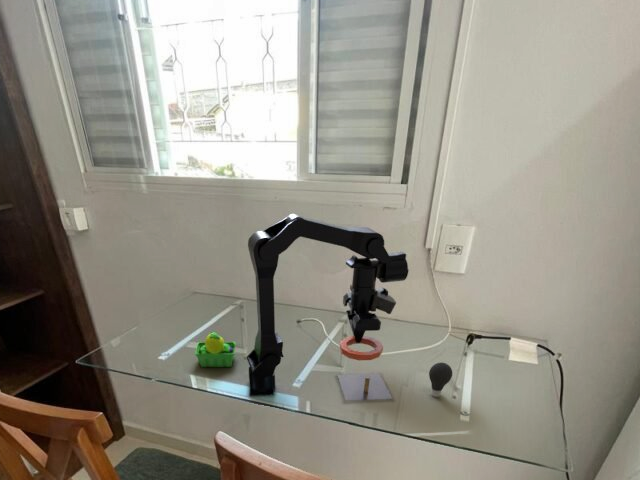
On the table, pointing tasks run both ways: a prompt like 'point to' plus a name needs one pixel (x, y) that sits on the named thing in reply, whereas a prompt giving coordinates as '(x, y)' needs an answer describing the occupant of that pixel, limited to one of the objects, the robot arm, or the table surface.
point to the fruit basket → (215, 352)
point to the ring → (361, 355)
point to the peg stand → (364, 387)
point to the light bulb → (439, 377)
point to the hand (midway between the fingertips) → (357, 340)
